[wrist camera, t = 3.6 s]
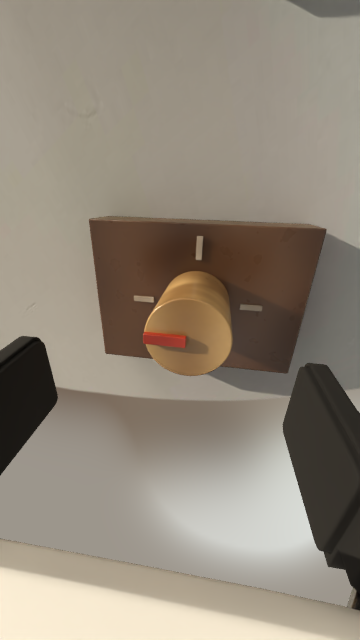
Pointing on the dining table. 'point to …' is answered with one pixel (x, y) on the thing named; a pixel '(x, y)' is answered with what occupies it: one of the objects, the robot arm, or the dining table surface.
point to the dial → (191, 325)
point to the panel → (213, 258)
